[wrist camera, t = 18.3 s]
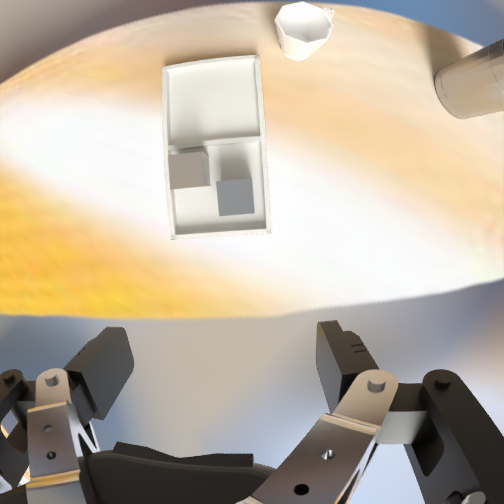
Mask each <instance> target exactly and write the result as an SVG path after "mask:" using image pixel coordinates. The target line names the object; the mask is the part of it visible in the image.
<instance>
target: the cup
mask: <svg viewBox="0 0 504 504" xmlns="http://www.w3.org/2000/svg"><path fill="white" fill-rule="evenodd" d="M333 15H334V10H333V9H331V8H330V7H325V8H324V9H322V8H319V7H317V6H314V5H311V4H308V3H306V2H303V1H302V2H297V3H292V4H288V5H283V6H282V7H281V9H280V11H279V13H278V14H277V16H276V18H275V25H276V30H277V36H278V39H279V42H280V44H281V49H282V51H283V53H284V55H285V57H287V58H290V59H293V60H295V61H300V60H303V59H307V58H308V57H309V55H311V54H313V53H314V52H316V51H317V50H318V49H319V48H320V46H322V45H323V44H324V43H325V42H326V41H327V40H328V37H329V35H330V33H331V30H332V28H333V26H334V24H333V23H332V21H331V19H332V18H333Z"/></svg>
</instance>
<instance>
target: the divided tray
mask: <svg viewBox="0 0 504 504" xmlns="http://www.w3.org/2000/svg"><path fill="white" fill-rule="evenodd" d="M162 117H163V145H164V163H165V178H166V191H167V203H168V213H169V223H170V233H171V240H179V239H193V238H207V237H222V236H237V235H253V234H269V233H272V231H271V213H270V196H269V180H268V165H267V150H266V136H265V122H264V109H263V97H262V84H261V73H260V61H259V55H247V56H234V57H223V58H214V59H206V60H199V61H192V62H186V63H180V64H175V65H169V66H164V67H162ZM194 152H203V153H205V154H206V155H208V156H209V169H210V184H211V186H206V187H195V188H185V189H173V190H170V181H169V166H168V156H170V155H178V154H186V153H194ZM246 178H252V182H253V194H254V207H255V213H254V214H241V215H229V216H219V209H218V198H217V187H216V181H224V180H234V179H246Z"/></svg>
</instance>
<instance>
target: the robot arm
mask: <svg viewBox="0 0 504 504" xmlns="http://www.w3.org/2000/svg"><path fill="white" fill-rule="evenodd" d="M435 88H436V92H437V95H438V97H439V99H440V101H441V103H442V105H443V106H444V107H445V109H446V110H447V111H448V112H449V113H450V114H452V115H453V116H454V117H457V118H459V119H467V118H472V117H476V116H481V115H485V114H490V113H495V112H499V111H504V39H501V40H499V41H497V42H495V43H493V44H491V45H489V46H487V47H485V48H483V49H480V50H478V51H476V52H474V53H472V54H470V55H468V56H466V57H464V58H462V59H460V60H458V61H457V62H455V63H453V64H451V65H449V66H447V67H445V68H443V69H441V70H440V71H438V73H437V74H436V77H435ZM316 365H317V370H318V374H319V377H320V380H321V383H322V387H323V390H324V393H325V397H326V400H327V403H328V407H329V410H330V414H328V413H325V414H323V415H322V416H321V417H320V418H319V420H318V421H317V422H316V423H315V425H314V426H313V427H312V429H311V430H310V431H309V432H308V433H307V435H306V436H305V437H304V438H303V440H302V441H301V442H300V443H299V444H298V445H297V447H296V448H295V449H294V450H293V451H292V452H291V454H290V455H289V456H288V457H287V458H286V459H285V460H284V461H283V463H282V464H281V465H280V466H279V467H278V468H277V469H275V468H272V467H269V466H265V465H261V464H256V463H254V457H253V454H218V453H217V454H209V455H202V456H194V457H184V458H177V457H173V456H170V455H167V454H164V453H162V452H159V451H156V450H153V449H151V448H148V447H143V446H138V445H132V444H127V443H122V442H117V443H116V445H115V447H114V449H113V450H108V451H100V448H99V445H98V442H97V439H96V436H95V433H94V429H93V426H92V424H91V422H90V420H91V418H95V419H100V420H104V418H105V417H106V415H107V413H108V412H109V410H110V408H111V406H112V405H113V403H114V401H115V400H116V398H117V396H118V395H119V393H120V391H121V389H122V388H123V386H124V384H125V383H126V381H127V380H128V378H129V376H130V375H131V373H132V371H133V368H134V359H133V355H132V352H131V348H130V345H129V341H128V337H127V334H126V331H125V329H124V328H123V327H106V328H105V329H104V330H103V331H102V332H101V333H100V334H99V335H98V336H97V337H96V338H94V339H93V340H91V341H89V342H88V343H87V344H86V345H85V346H84V347H83V348H82V350H80V351H79V352H78V355H76V356H75V357H74V358H73V359H72V360H71V361H70V362H69V363H68V364H67V365H66V366H65V367H64V368H63V369H59V368H55V369H50V370H47V371H45V372H43V373H41V374H40V375H39V376H38V378H37V380H36V381H26V380H25V378H24V376H23V374H22V372H21V371H20V370H17V369H12V370H8V371H5V372H3V373H2V374H1V375H0V425H1V421H2V419H3V418H4V417H5V416H6V414H7V413H8V412H9V411H10V409H11V411H12V412H13V414H14V416H15V417H16V419H17V420H18V424H17V425H16V426H15V428H14V429H13V430H12V432H11V433H10V435H9V436H8V437H7V439H6V437H5V436H4V434H3V433H2V431H1V426H0V504H347V503H348V502H349V500H350V498H351V497H352V495H353V493H354V491H355V489H356V487H357V485H358V484H359V482H360V480H361V478H362V477H363V475H364V473H365V471H366V469H367V468H368V466H369V464H370V462H371V460H372V458H373V456H374V454H375V452H376V450H377V448H378V446H379V444H403V445H404V447H405V450H406V452H407V455H408V458H409V460H410V463H411V465H412V468H413V470H414V473H415V476H416V479H417V481H418V484H419V487H420V490H421V493H422V496H423V498H424V501H425V504H504V437H503V435H502V434H501V432H500V431H499V429H498V428H497V426H496V425H495V424H494V422H493V421H492V419H491V418H490V417H489V415H488V414H487V413H486V411H485V410H484V408H483V407H482V406H481V404H480V403H479V402H478V401H477V399H476V398H475V396H474V395H473V394H472V392H471V391H470V390H469V389H468V387H467V386H466V385H465V384H464V382H463V381H462V380H461V379H460V377H459V376H458V375H457V374H455V373H453V372H451V371H448V370H443V369H439V370H433V371H430V372H428V373H427V374H426V375H425V376H424V378H423V382H422V383H416V384H405V383H398V380H397V378H396V377H395V376H394V375H393V374H391V373H390V372H387V371H384V370H380V369H379V368H378V366H377V364H376V363H375V361H374V360H373V358H372V356H371V355H370V353H369V351H367V348H366V347H365V345H364V343H363V342H362V340H361V339H360V337H359V336H358V335H356V334H355V333H353V332H351V331H344V332H343V331H342V329H341V327H340V325H339V323H338V322H337V320H334V321H323V322H318V324H317V343H316ZM28 466H29V468H30V477H31V479H30V482H28V483H26V484H24V485H22V486H19V487H17V486H18V484H19V482H20V480H21V478H22V477H23V475H24V473H25V471H26V470H27V468H28Z"/></svg>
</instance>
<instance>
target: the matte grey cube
mask: <svg viewBox="0 0 504 504" xmlns="http://www.w3.org/2000/svg"><path fill="white" fill-rule="evenodd" d="M216 187H217V198H218V209H219V216H229V215H241V214H254V213H255V207H254V194H253V182H252V178H246V179H234V180H224V181H216Z"/></svg>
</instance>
